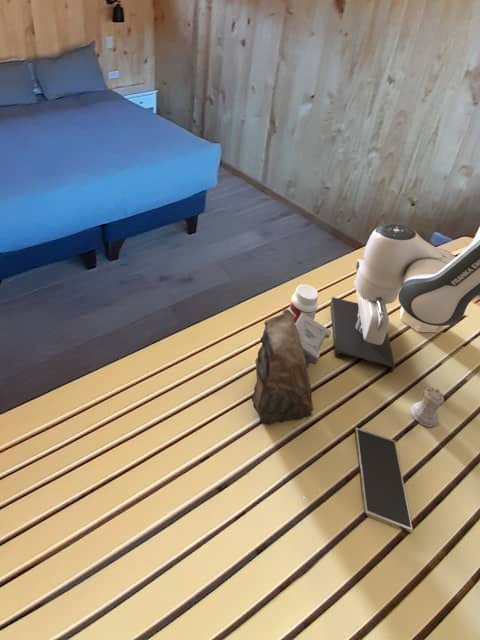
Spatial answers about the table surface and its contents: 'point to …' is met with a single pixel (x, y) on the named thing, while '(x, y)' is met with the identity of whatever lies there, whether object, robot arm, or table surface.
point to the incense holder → (311, 337)
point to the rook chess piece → (428, 407)
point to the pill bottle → (304, 302)
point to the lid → (356, 335)
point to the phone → (382, 480)
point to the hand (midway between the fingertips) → (361, 326)
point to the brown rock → (282, 373)
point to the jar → (416, 323)
